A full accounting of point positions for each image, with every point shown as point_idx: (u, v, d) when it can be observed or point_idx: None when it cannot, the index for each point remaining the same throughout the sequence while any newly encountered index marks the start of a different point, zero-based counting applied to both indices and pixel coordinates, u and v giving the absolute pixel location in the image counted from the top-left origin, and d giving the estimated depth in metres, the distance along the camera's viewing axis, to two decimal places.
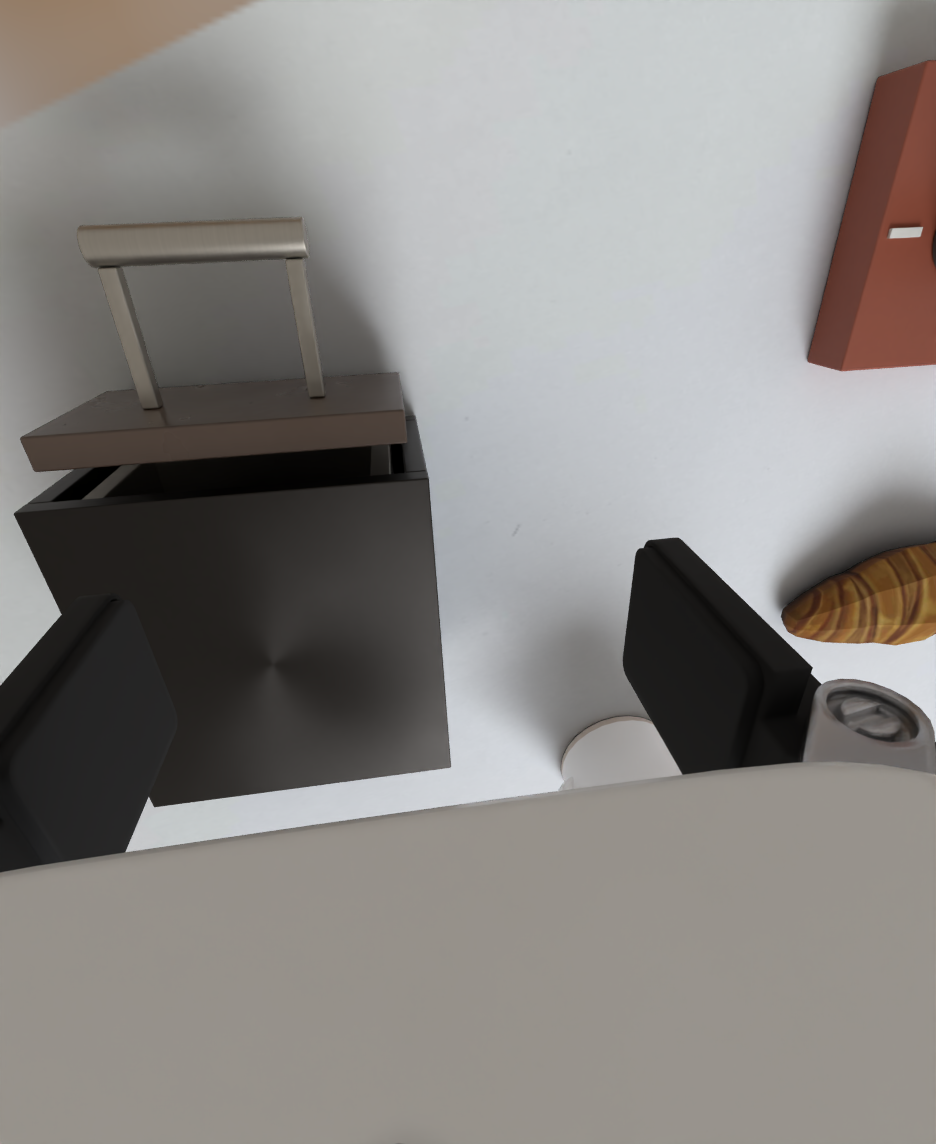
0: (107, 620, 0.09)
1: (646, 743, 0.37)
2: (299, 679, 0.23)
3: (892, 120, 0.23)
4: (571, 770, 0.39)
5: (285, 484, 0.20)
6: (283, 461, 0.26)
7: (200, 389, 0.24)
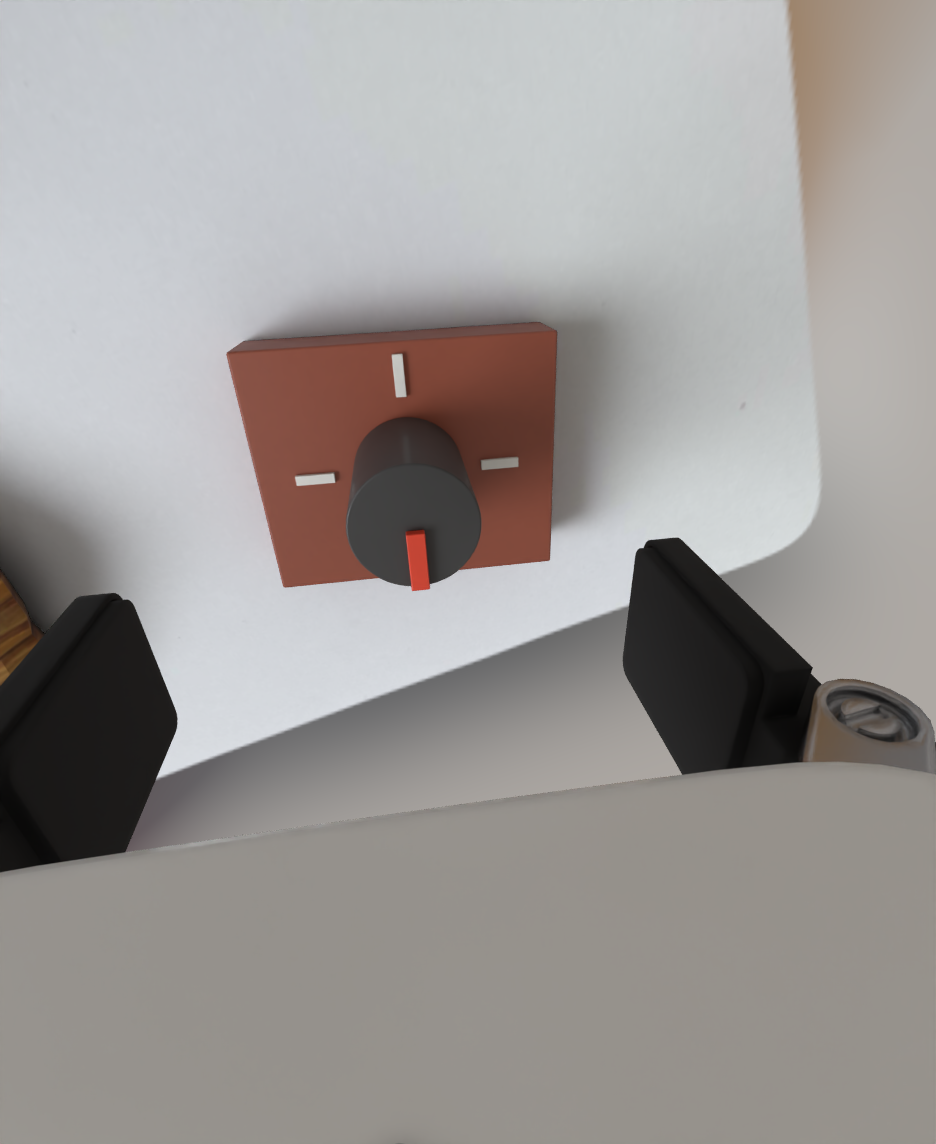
0: (107, 620, 0.09)
1: None
2: None
3: (505, 329, 0.20)
4: None
5: None
6: None
7: None
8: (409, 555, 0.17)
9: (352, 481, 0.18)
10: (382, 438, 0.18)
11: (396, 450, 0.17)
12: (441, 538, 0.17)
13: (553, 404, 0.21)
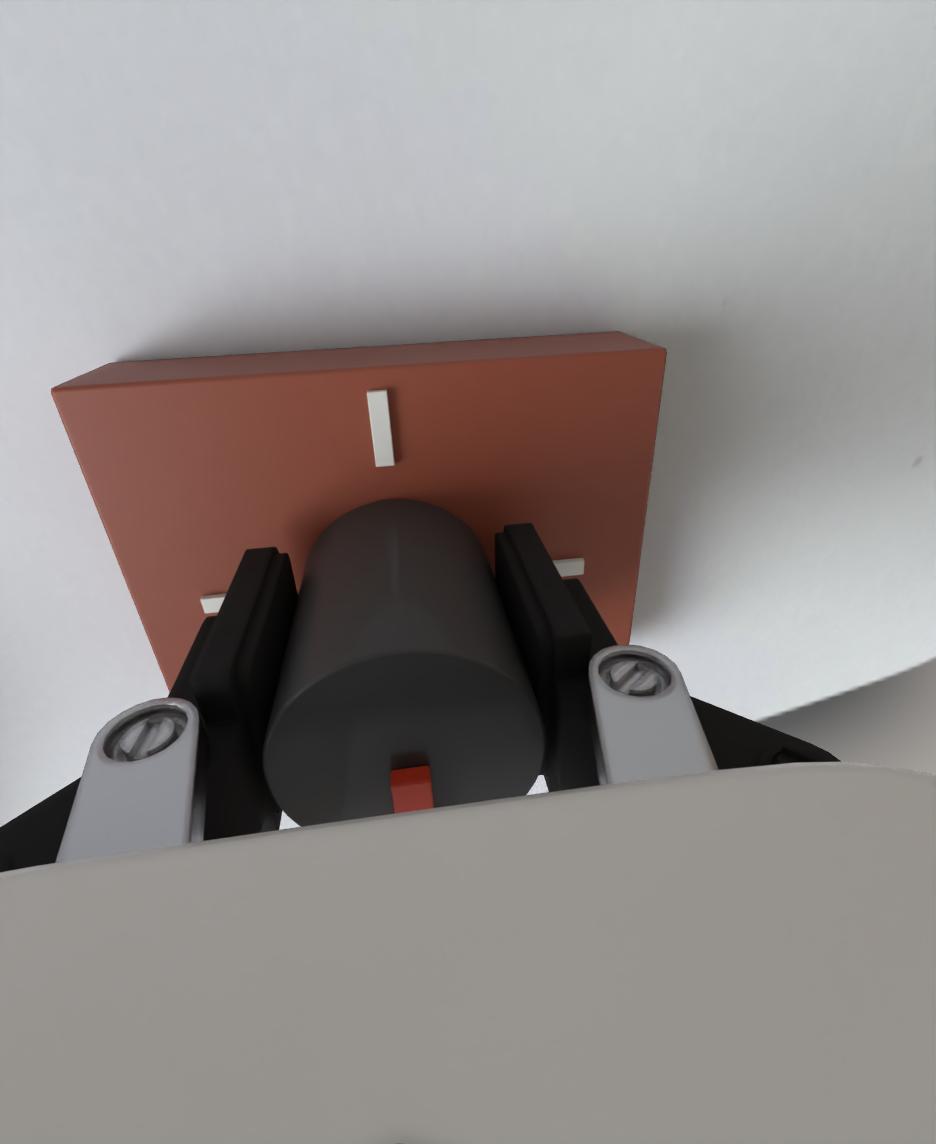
0: (278, 568, 0.10)
1: None
2: None
3: (570, 345, 0.11)
4: None
5: None
6: None
7: None
8: None
9: (287, 643, 0.09)
10: (348, 552, 0.10)
11: (371, 599, 0.08)
12: (465, 776, 0.08)
13: (649, 474, 0.12)
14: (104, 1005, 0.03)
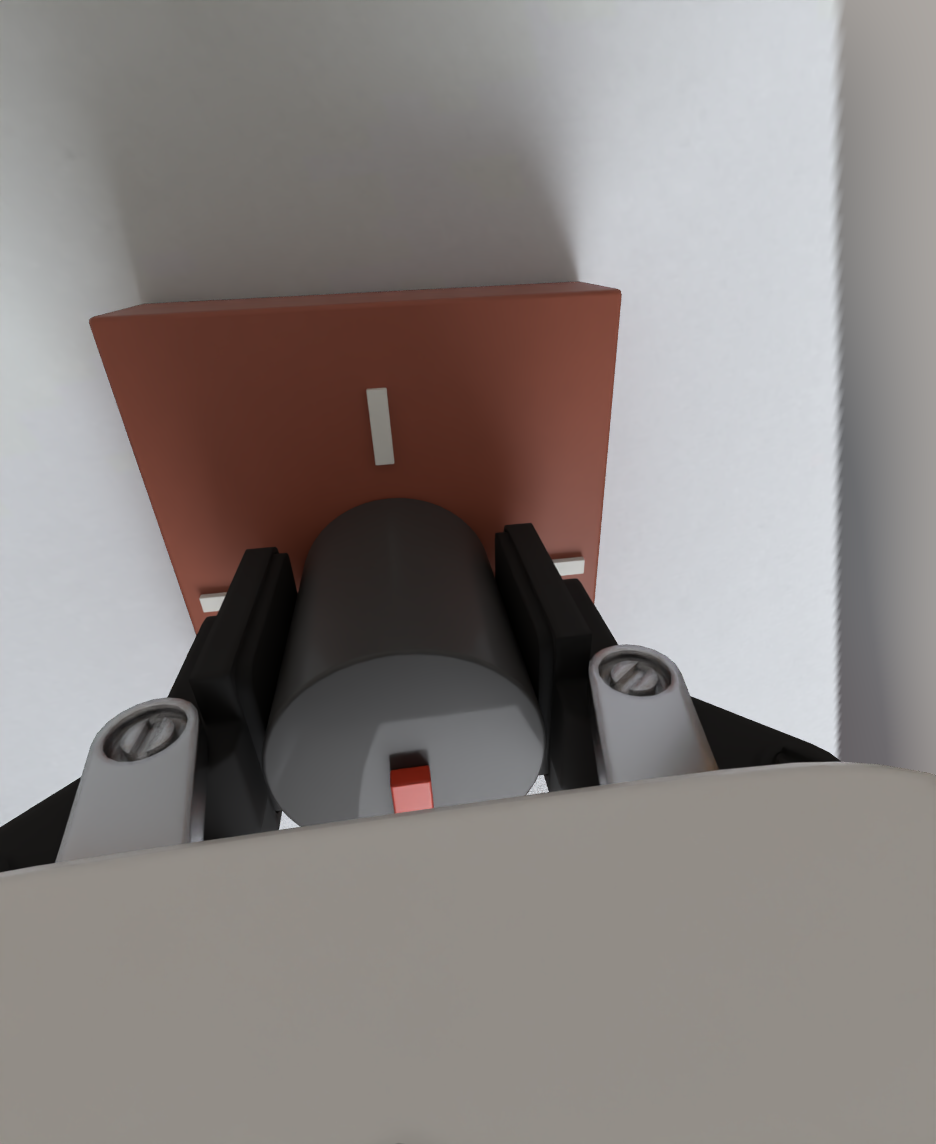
0: (278, 568, 0.10)
1: None
2: None
3: None
4: None
5: None
6: None
7: None
8: None
9: (286, 642, 0.09)
10: (347, 551, 0.10)
11: (371, 598, 0.08)
12: (465, 775, 0.08)
13: (245, 314, 0.09)
14: (104, 1005, 0.03)
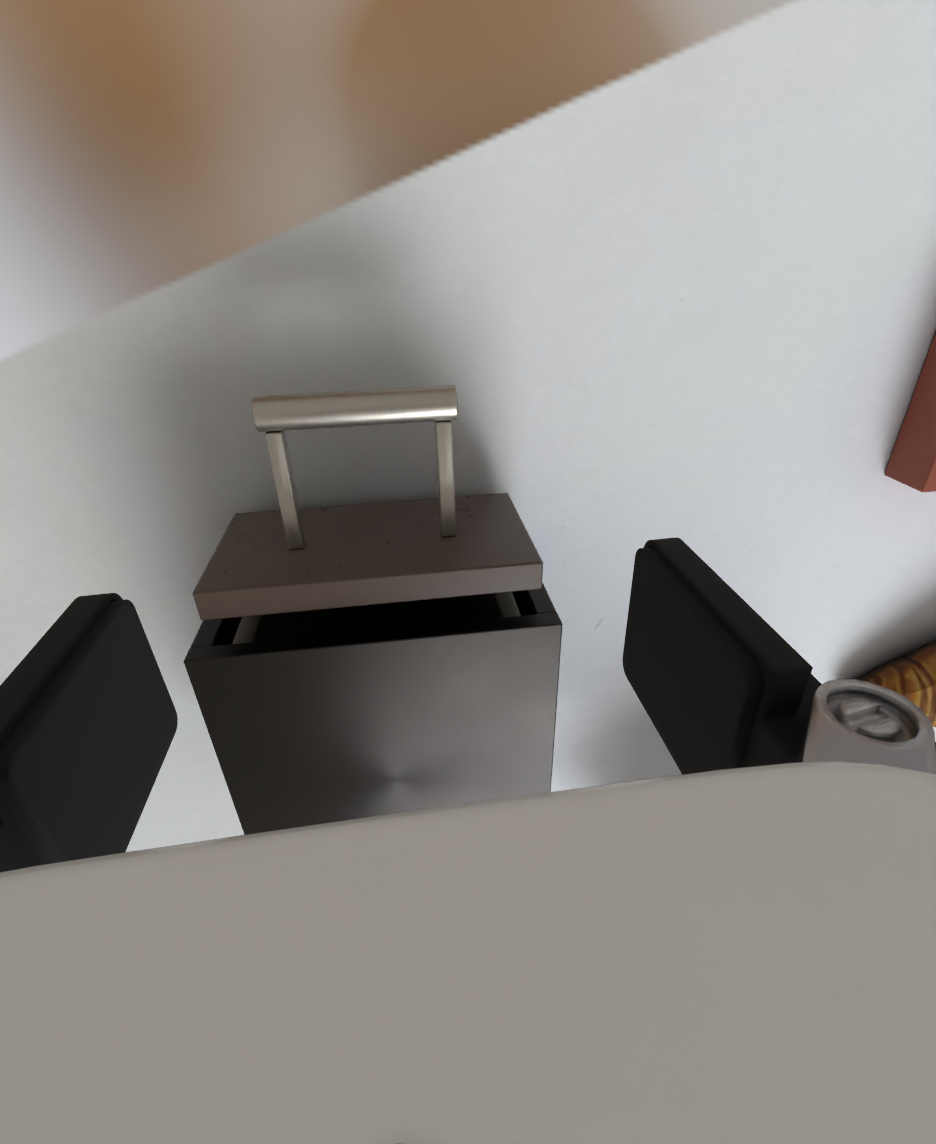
0: (107, 620, 0.09)
1: None
2: (419, 791, 0.25)
3: None
4: None
5: (429, 628, 0.21)
6: None
7: (326, 514, 0.25)
8: None
9: None
10: None
11: None
12: None
13: None
14: (104, 1005, 0.03)
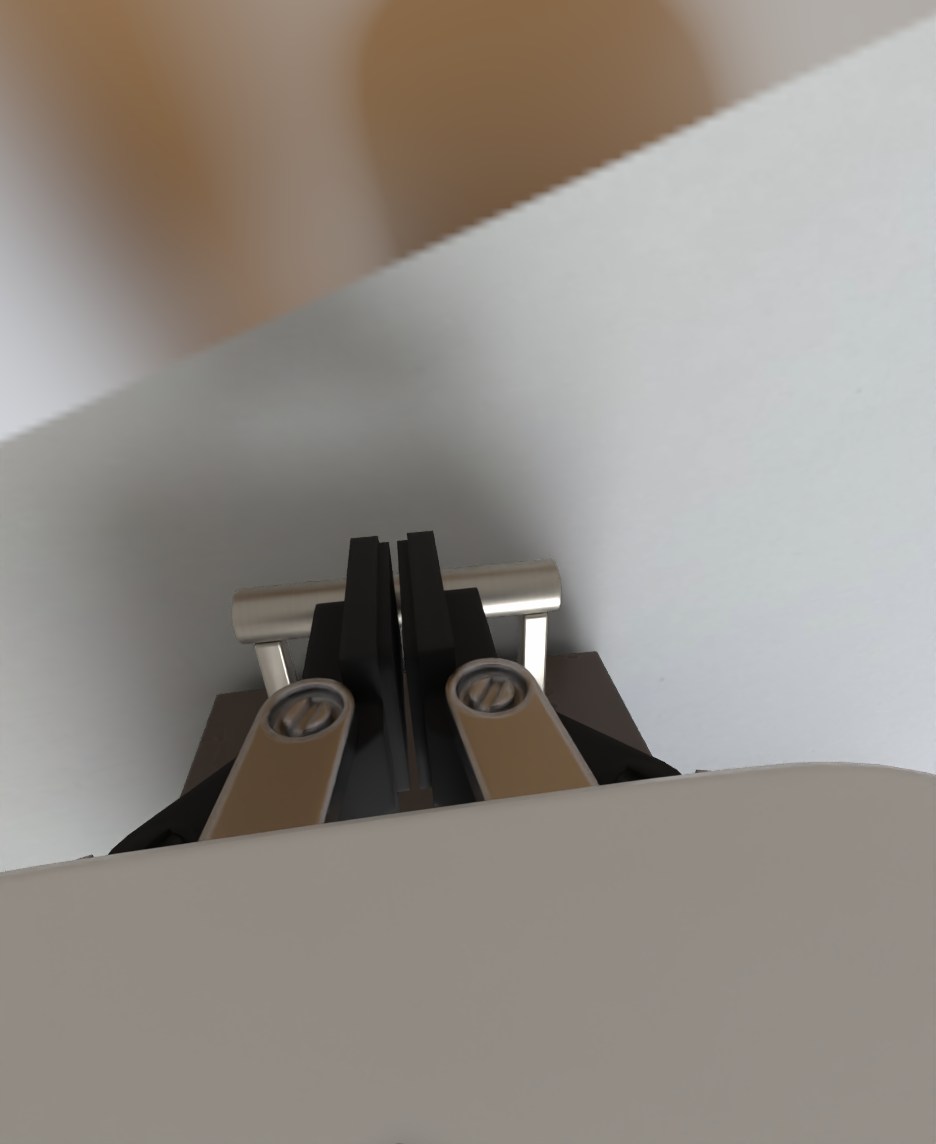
0: (385, 556, 0.10)
1: None
2: None
3: None
4: None
5: None
6: None
7: None
8: None
9: None
10: None
11: None
12: None
13: None
14: (104, 1005, 0.03)
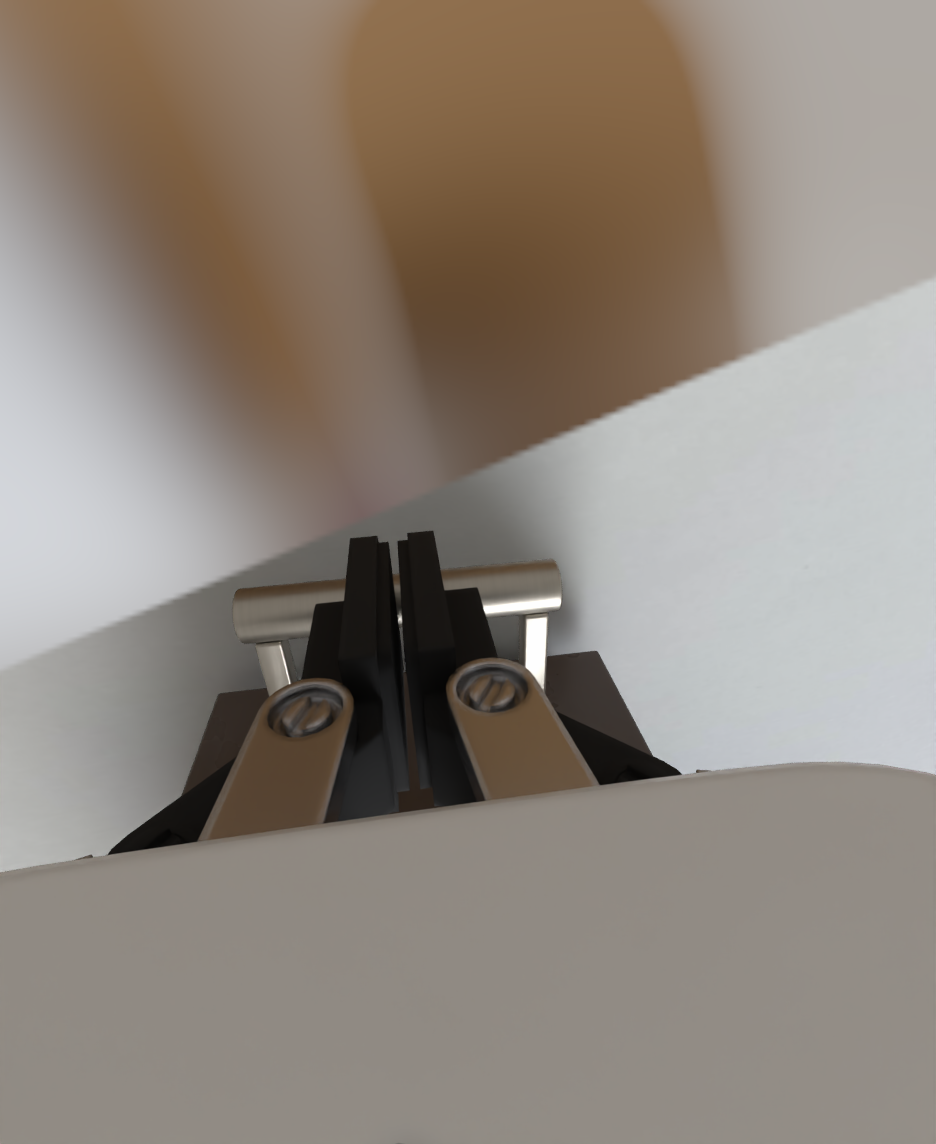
0: (385, 556, 0.10)
1: None
2: None
3: None
4: None
5: None
6: None
7: None
8: None
9: None
10: None
11: None
12: None
13: None
14: (104, 1005, 0.03)
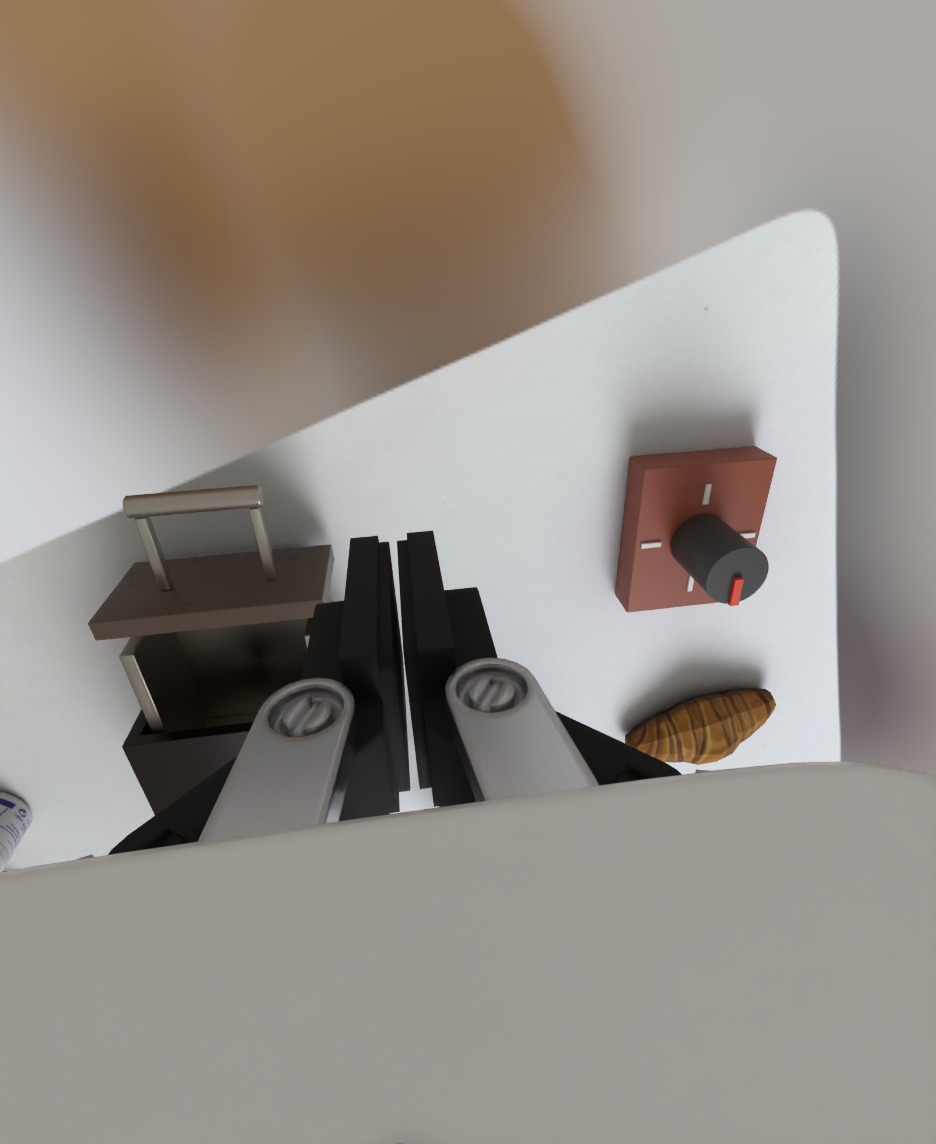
0: (385, 556, 0.10)
1: None
2: None
3: (635, 487, 0.38)
4: None
5: None
6: None
7: (197, 563, 0.36)
8: (734, 589, 0.35)
9: (696, 551, 0.36)
10: (705, 528, 0.37)
11: (726, 538, 0.35)
12: (748, 580, 0.35)
13: (681, 466, 0.36)
14: (105, 1005, 0.03)
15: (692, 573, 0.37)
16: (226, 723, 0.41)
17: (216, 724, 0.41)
